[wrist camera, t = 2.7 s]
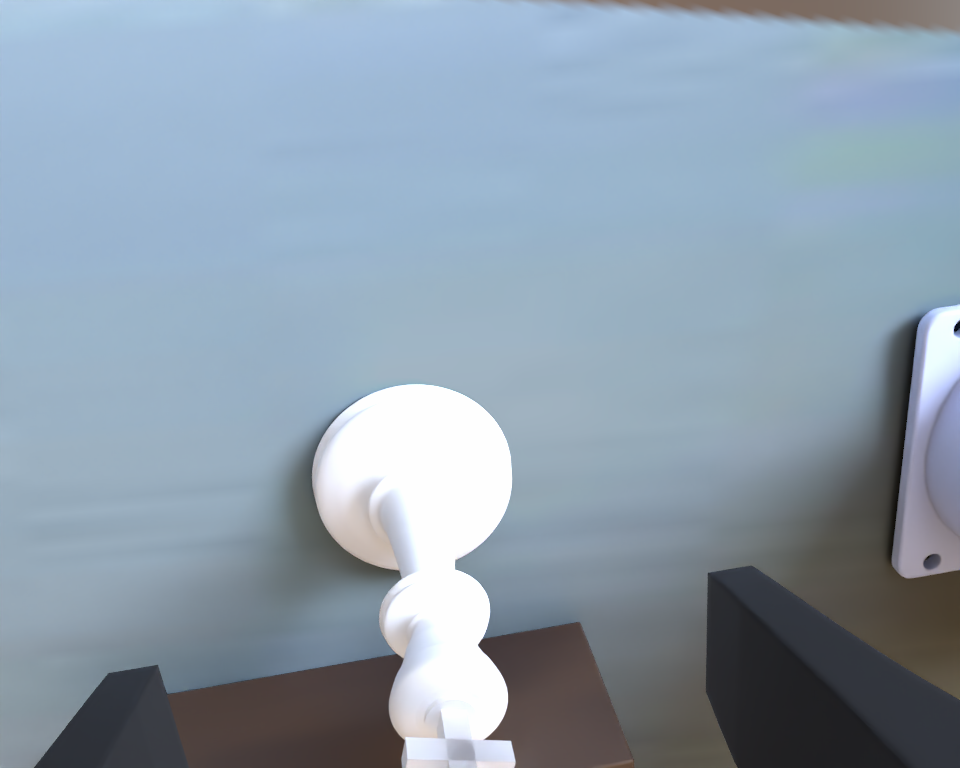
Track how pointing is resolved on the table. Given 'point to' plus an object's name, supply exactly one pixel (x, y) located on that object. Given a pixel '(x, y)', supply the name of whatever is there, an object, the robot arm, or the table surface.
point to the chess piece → (425, 557)
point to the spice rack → (366, 721)
